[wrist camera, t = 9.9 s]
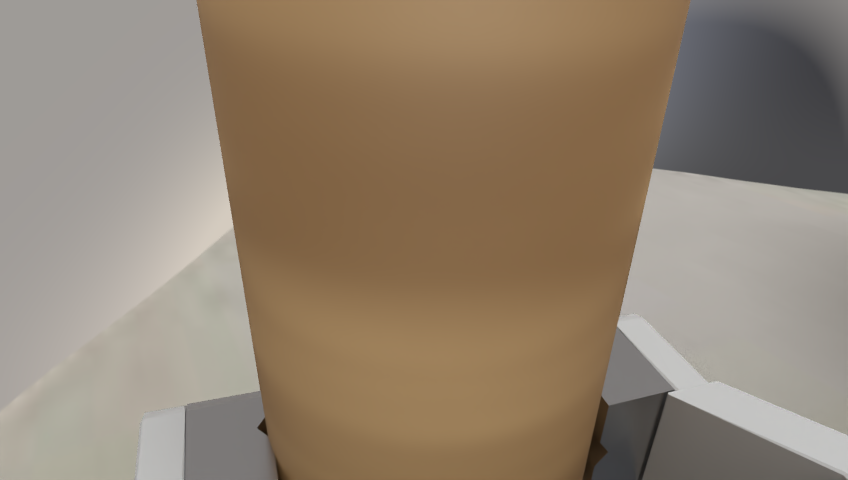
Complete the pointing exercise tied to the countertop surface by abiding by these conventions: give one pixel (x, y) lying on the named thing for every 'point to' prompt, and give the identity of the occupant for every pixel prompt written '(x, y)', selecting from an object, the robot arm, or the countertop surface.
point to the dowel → (436, 221)
